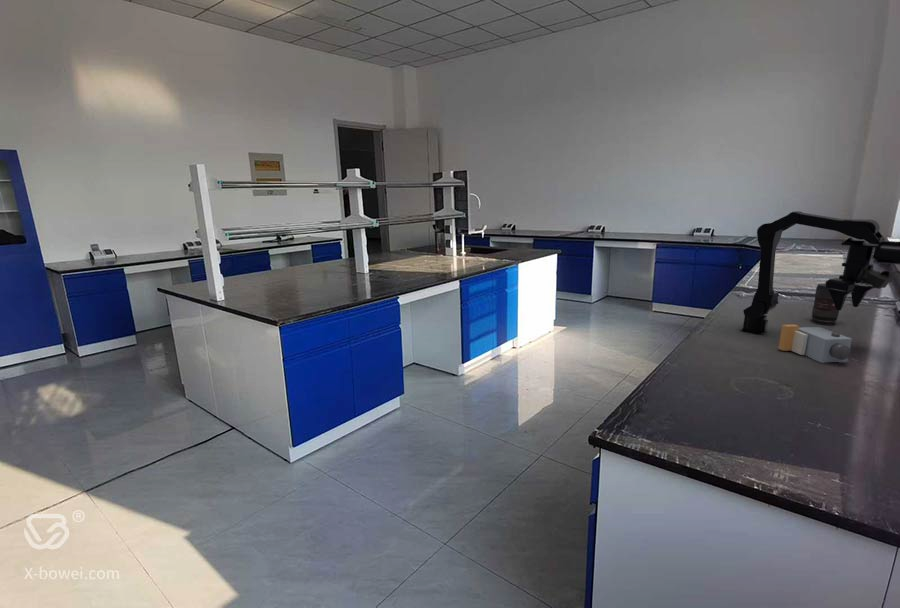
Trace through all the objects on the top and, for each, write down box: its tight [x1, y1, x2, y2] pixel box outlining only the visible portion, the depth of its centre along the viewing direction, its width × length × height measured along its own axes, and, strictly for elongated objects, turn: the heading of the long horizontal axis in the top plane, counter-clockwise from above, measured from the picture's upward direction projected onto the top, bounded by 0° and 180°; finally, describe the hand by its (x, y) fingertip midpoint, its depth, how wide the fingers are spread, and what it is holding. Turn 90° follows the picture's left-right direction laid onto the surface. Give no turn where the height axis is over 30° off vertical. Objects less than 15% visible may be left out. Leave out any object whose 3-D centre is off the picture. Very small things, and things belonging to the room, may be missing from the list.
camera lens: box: [811, 283, 840, 326], centre depth 174 cm, size 8×8×15 cm
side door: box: [778, 324, 808, 356], centre depth 145 cm, size 6×4×8 cm, turn 1°
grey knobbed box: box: [798, 326, 853, 364], centre depth 141 cm, size 14×8×8 cm, turn 1°
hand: (847, 308), depth 146 cm, fingers open, 9 cm apart
